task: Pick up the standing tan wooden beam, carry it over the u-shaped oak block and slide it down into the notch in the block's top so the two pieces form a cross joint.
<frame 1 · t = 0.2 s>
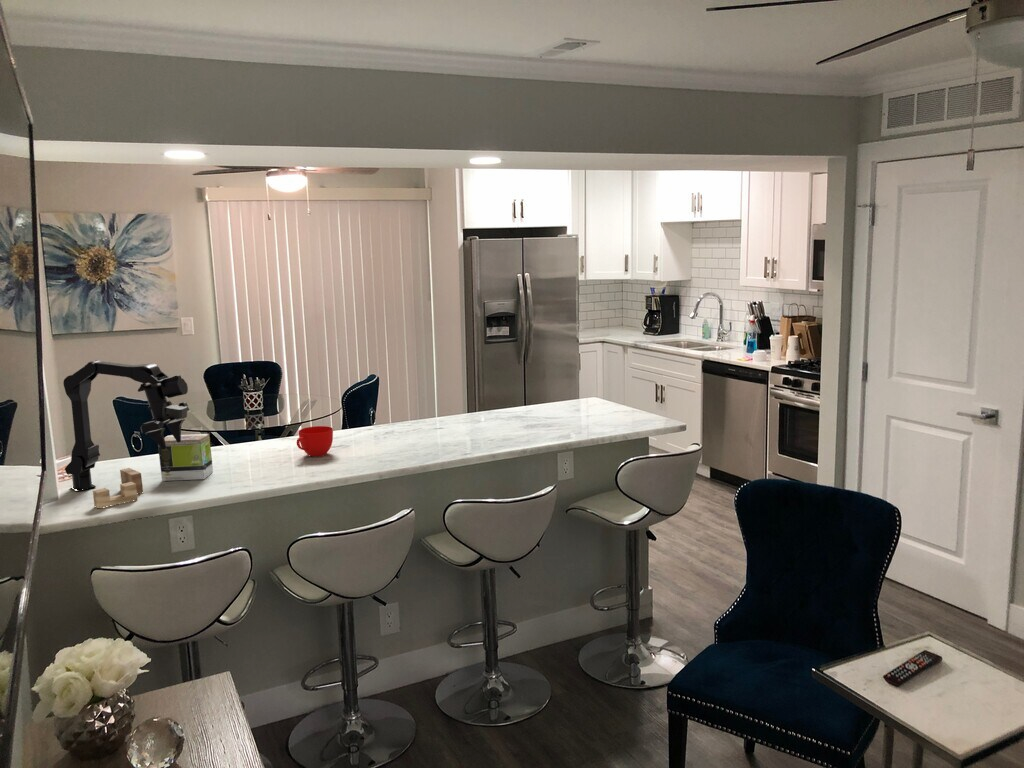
hand: (172, 445, 271), 15 cm above the countertop, tool pointing down, fingers open, 9 cm apart
tea box: (187, 477, 287), on the countertop
tan wooden beam: (132, 491, 271), on the countertop
ceramic cup: (314, 456, 311), on the countertop
u-shaped oak block: (116, 503, 258), on the countertop
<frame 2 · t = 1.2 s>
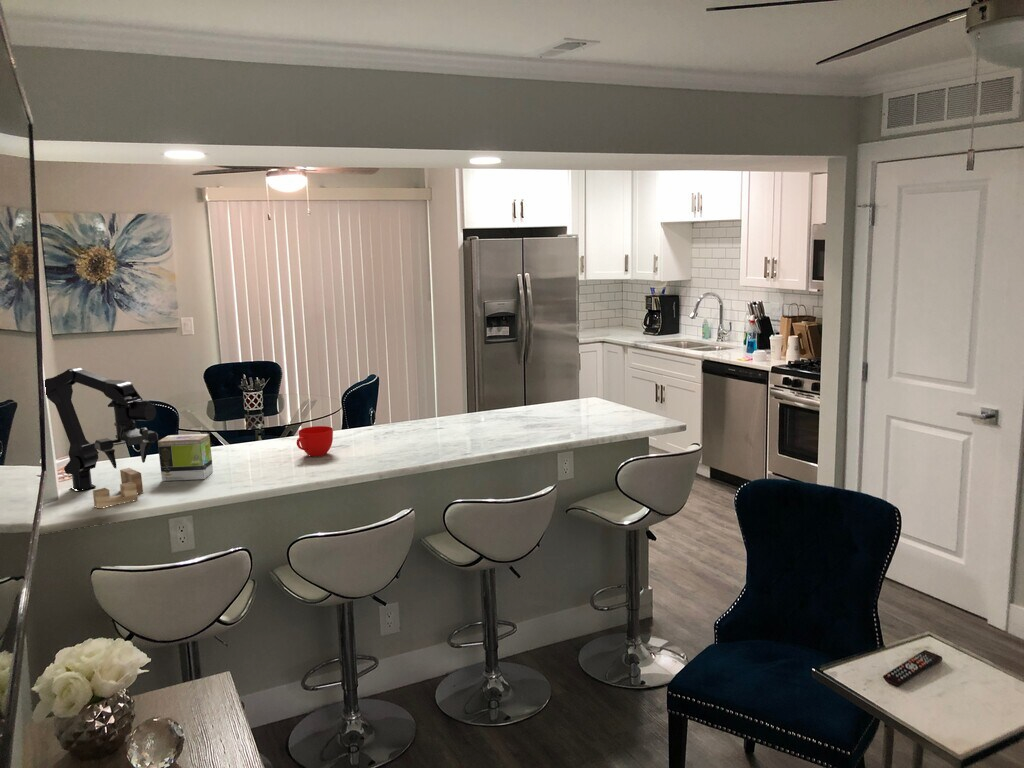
hand: (129, 465, 270), 9 cm above the countertop, tool pointing down, fingers open, 9 cm apart
nothing on the countertop moved.
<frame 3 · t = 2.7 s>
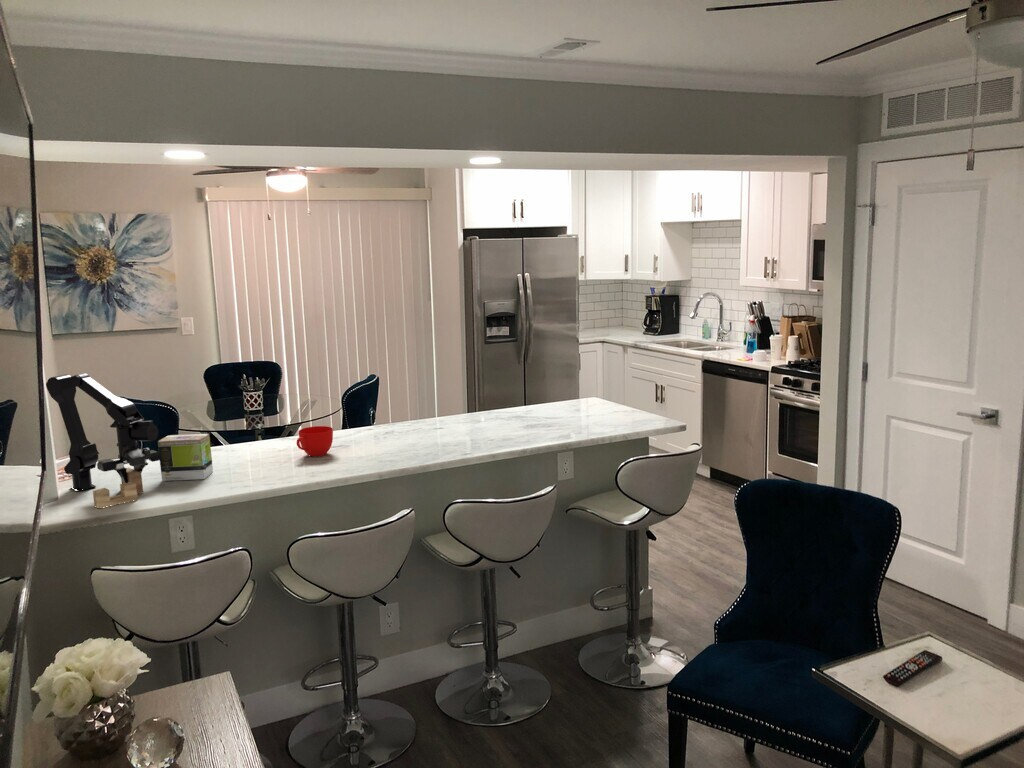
hand: (132, 485, 271), 2 cm above the countertop, tool pointing down, fingers closed on tan wooden beam, 3 cm apart
tan wooden beam: (132, 491, 271), on the countertop, touching gripper
everything else where it was.
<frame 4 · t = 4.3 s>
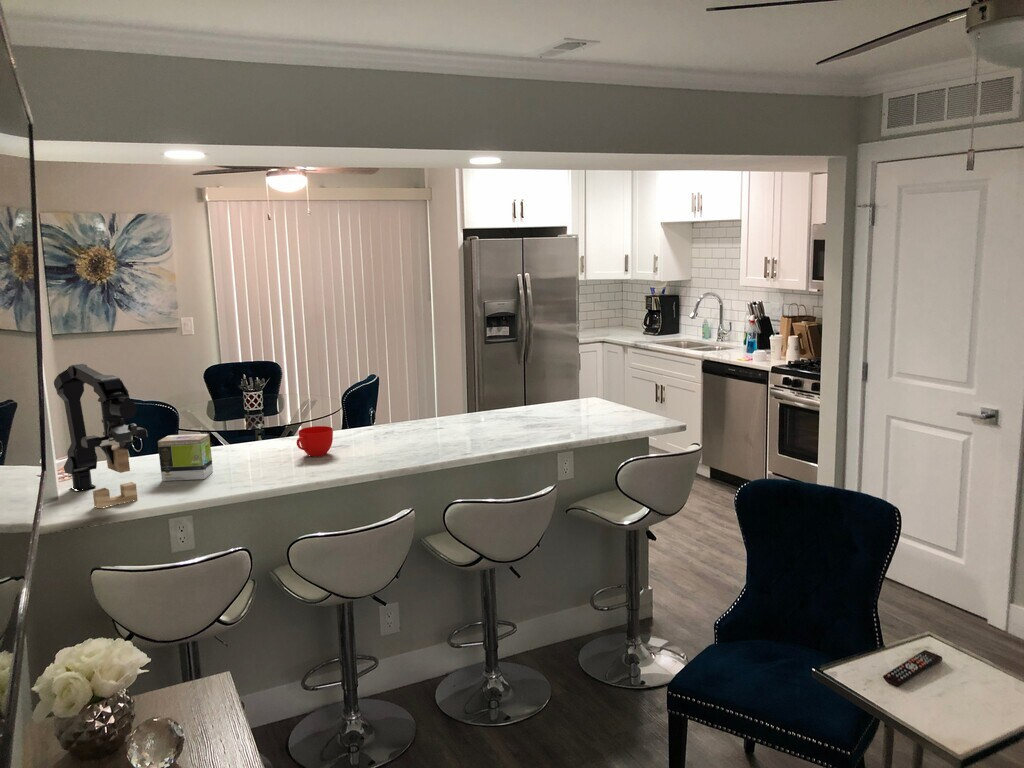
hand: (117, 463, 260), 12 cm above the countertop, tool pointing down, fingers closed on tan wooden beam, 3 cm apart
tan wooden beam: (118, 469, 260), point 10 cm above the countertop, touching gripper
everything else where it was.
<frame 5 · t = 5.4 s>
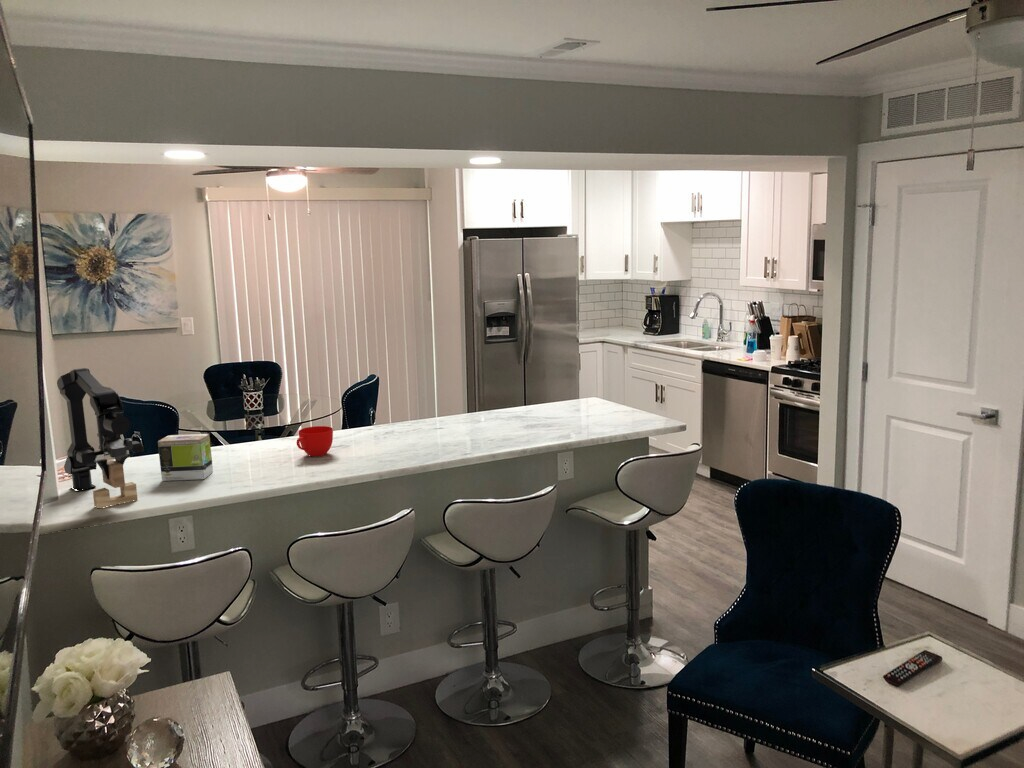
hand: (113, 477, 257), 9 cm above the countertop, tool pointing down, fingers closed on tan wooden beam, 3 cm apart
tan wooden beam: (114, 483, 257), point 7 cm above the countertop, touching gripper
everything else where it was.
when the fingers open (6 cm above the countertop, at t = 6.2 s): tan wooden beam drops 2 cm, resting on u-shaped oak block.
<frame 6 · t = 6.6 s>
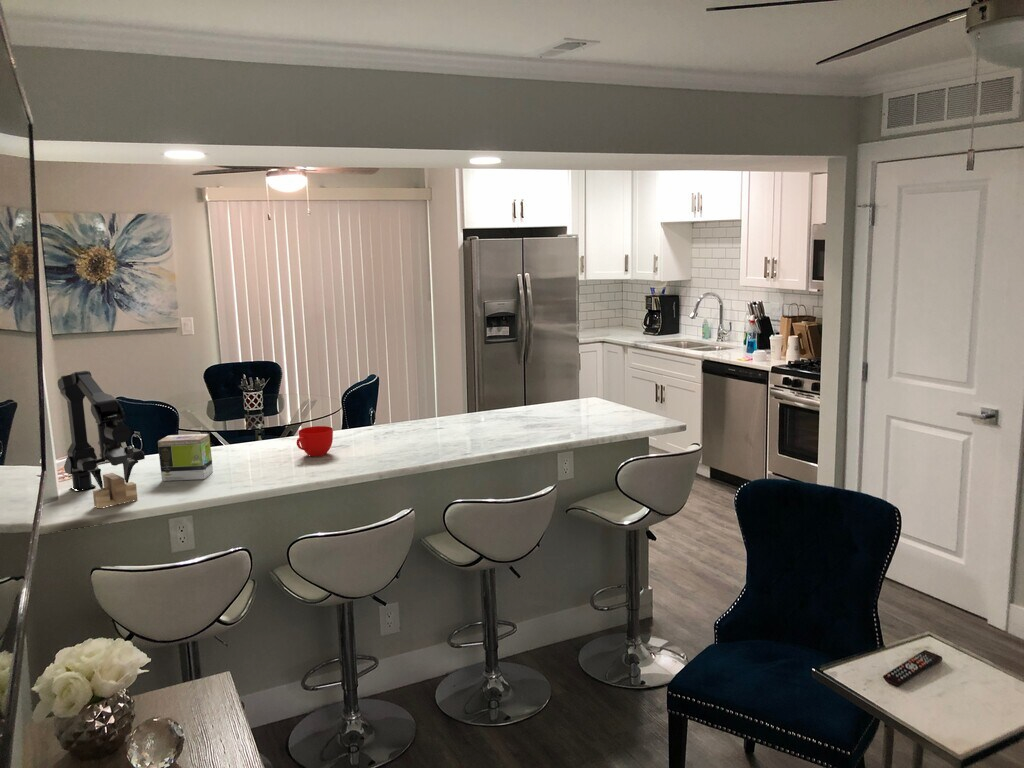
hand: (114, 485, 257), 6 cm above the countertop, tool pointing down, fingers open, 7 cm apart
tan wooden beam: (115, 497, 258), point 2 cm above the countertop, touching u-shaped oak block
everything else where it was.
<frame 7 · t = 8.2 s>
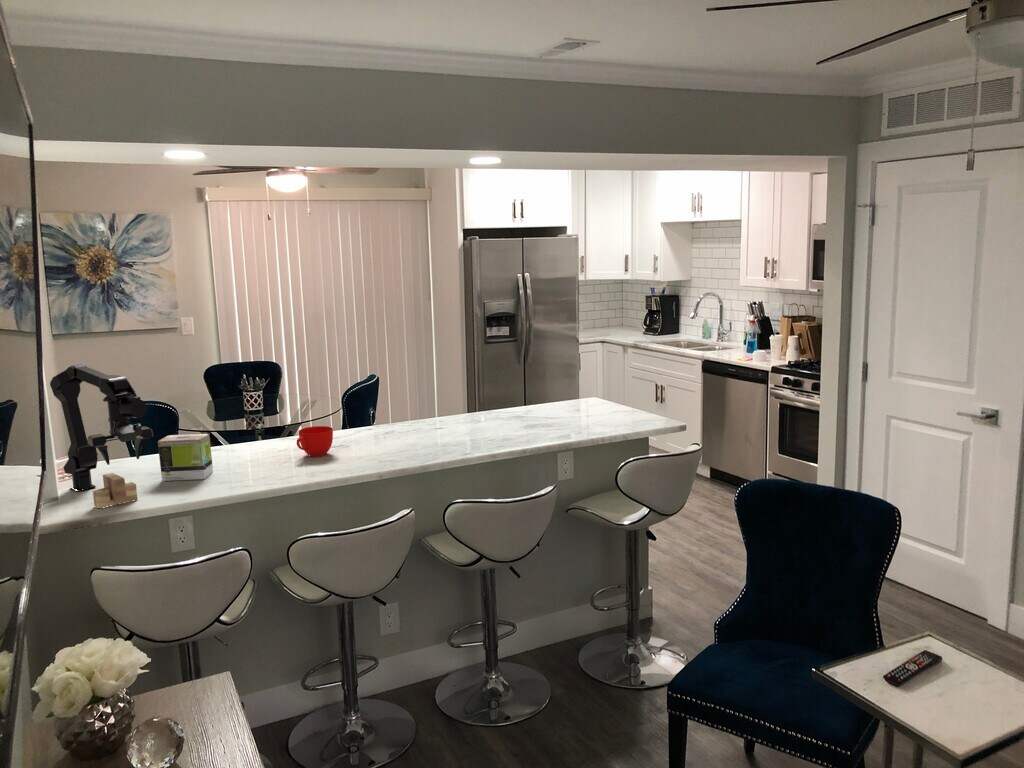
hand: (123, 461, 264), 12 cm above the countertop, tool pointing down, fingers open, 9 cm apart
nothing on the countertop moved.
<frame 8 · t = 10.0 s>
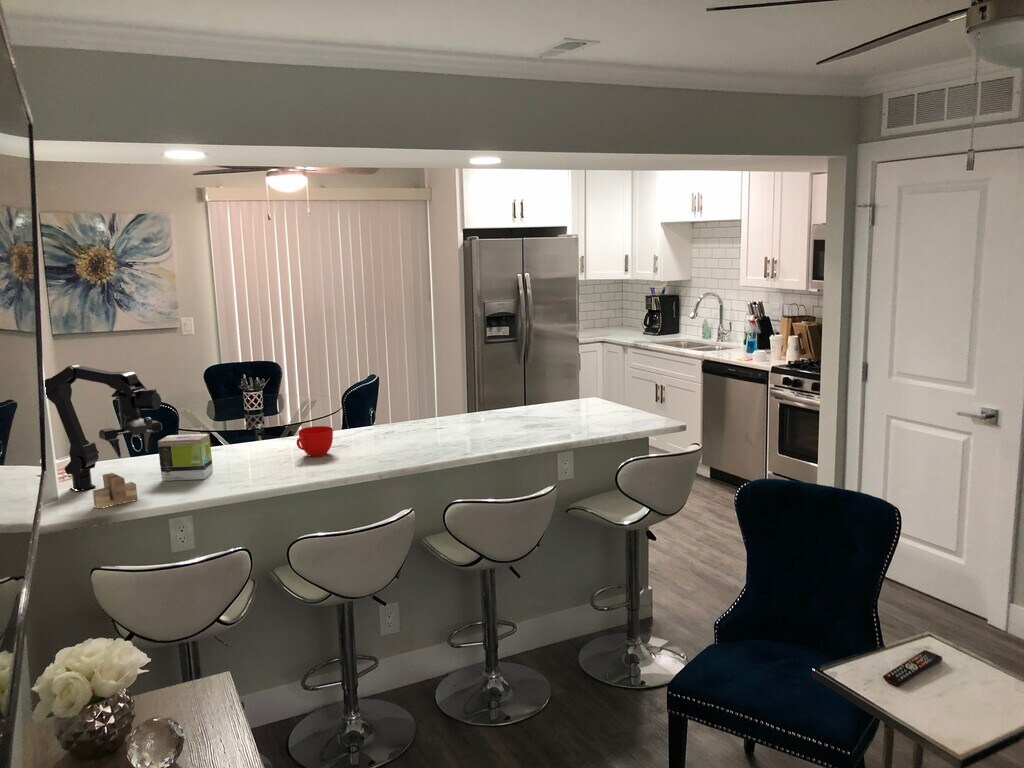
hand: (133, 454, 271), 12 cm above the countertop, tool pointing down, fingers open, 9 cm apart
nothing on the countertop moved.
at the end: tan wooden beam 0.0 cm off-centre on the u-shaped oak block, point 2.0 cm above the u-shaped oak block's base; tan wooden beam tilted 0°; the gripper is holding nothing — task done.
